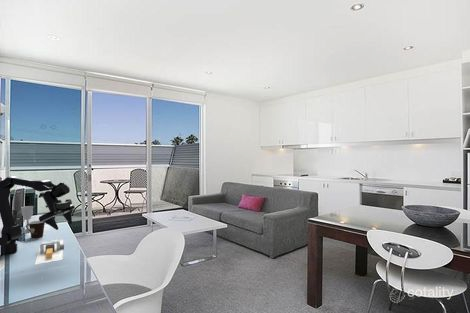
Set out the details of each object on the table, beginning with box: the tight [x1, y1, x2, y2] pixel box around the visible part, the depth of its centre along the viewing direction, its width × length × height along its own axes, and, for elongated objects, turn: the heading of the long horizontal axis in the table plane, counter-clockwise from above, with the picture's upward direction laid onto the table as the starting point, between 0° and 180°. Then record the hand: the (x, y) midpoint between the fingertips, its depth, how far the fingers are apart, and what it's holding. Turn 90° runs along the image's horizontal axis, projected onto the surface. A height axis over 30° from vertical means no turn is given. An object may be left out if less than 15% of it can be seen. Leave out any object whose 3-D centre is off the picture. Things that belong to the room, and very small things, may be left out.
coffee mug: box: [25, 220, 46, 239], centre depth 178 cm, size 12×9×10 cm
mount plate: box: [34, 239, 64, 266], centre depth 150 cm, size 12×38×1 cm, turn 32°
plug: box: [45, 244, 55, 259], centre depth 145 cm, size 4×14×3 cm, turn 32°
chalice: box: [20, 205, 34, 234], centre depth 188 cm, size 7×7×18 cm
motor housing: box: [39, 239, 65, 253], centre depth 151 cm, size 11×5×5 cm, turn 122°
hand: (64, 226), depth 146 cm, fingers open, 9 cm apart
